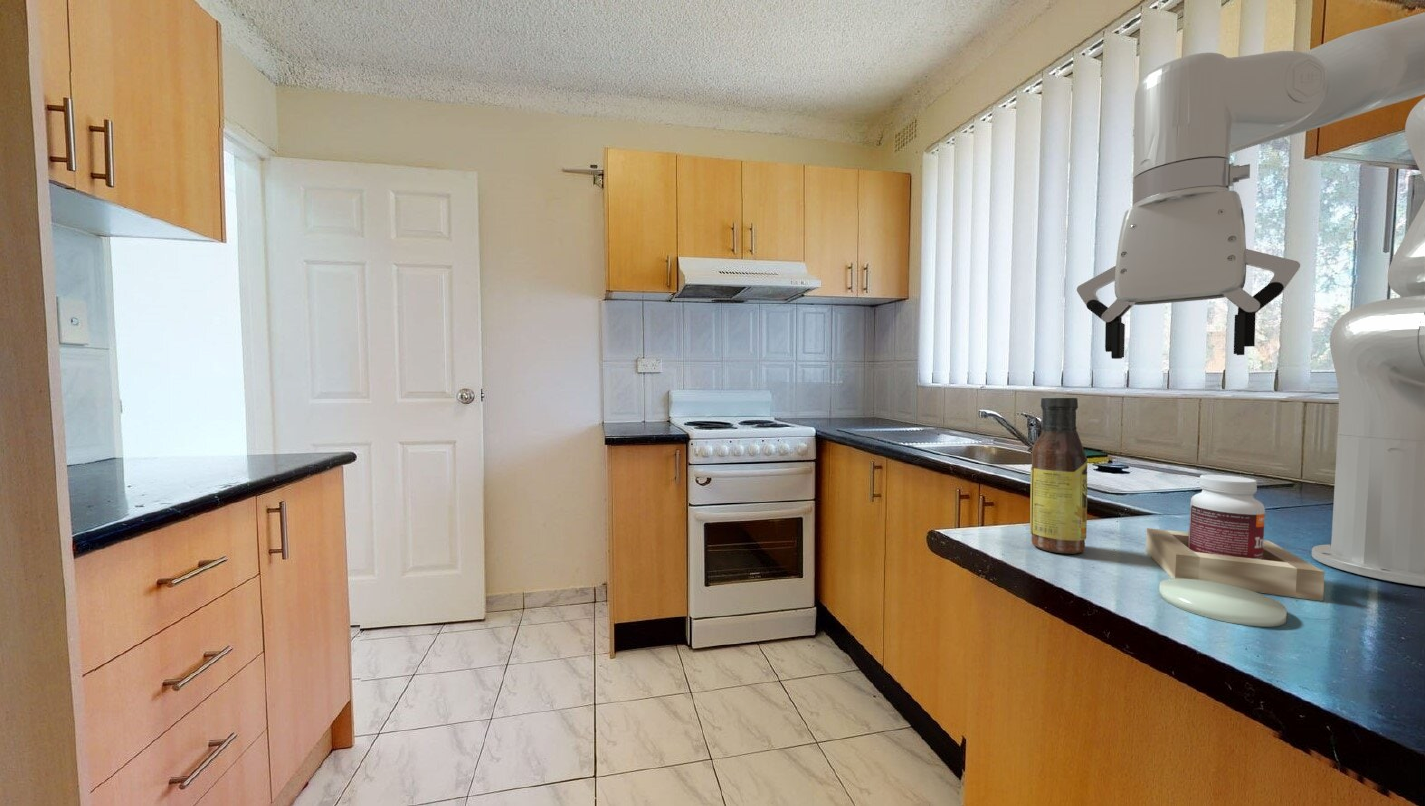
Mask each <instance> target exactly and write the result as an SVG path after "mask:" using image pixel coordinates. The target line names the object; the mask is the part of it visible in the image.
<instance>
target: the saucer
mask: <svg viewBox="0 0 1425 806" xmlns="http://www.w3.org/2000/svg"><path fill="white" fill-rule="evenodd" d="M1158 595H1159V596H1160V598H1161V599H1162V600H1163V601H1165V602H1166V603H1168V604H1170V605H1172V606H1174V607H1176V608H1178V609H1180V610H1182V611H1186V612H1188V613H1192V614H1194V615H1198V616H1202V617H1204V618H1208V619H1212V620H1216V621H1220V622H1226V623H1231V624H1237V625H1243V626H1250V627H1267V628H1270V627H1279V626H1283V625H1284V624H1285V623H1286V622H1287V608H1286V606H1285V605H1284V604H1282V603H1281V602H1279V601H1277V600H1275V599H1274V598H1272V597H1270V596H1267V595H1264V594H1263V593H1259V592H1253V591H1250V590H1247V589H1243V588H1239V587H1235V586H1231V585H1227V584H1222V583H1217V582H1211V581H1205V580H1197V579H1183V578H1175V579H1172V578H1166V579H1163V580H1160V582H1159V589H1158Z"/></svg>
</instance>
